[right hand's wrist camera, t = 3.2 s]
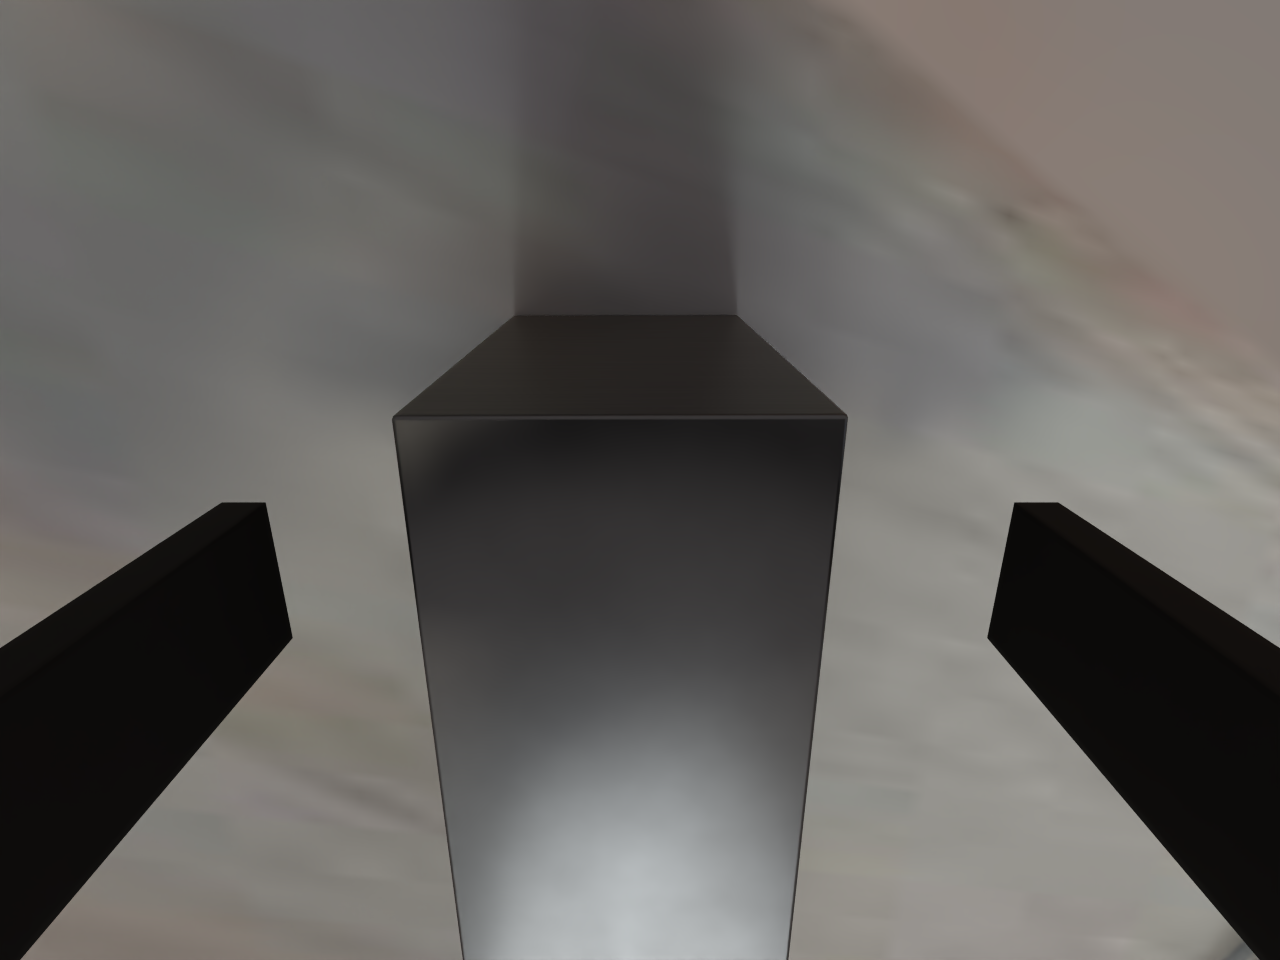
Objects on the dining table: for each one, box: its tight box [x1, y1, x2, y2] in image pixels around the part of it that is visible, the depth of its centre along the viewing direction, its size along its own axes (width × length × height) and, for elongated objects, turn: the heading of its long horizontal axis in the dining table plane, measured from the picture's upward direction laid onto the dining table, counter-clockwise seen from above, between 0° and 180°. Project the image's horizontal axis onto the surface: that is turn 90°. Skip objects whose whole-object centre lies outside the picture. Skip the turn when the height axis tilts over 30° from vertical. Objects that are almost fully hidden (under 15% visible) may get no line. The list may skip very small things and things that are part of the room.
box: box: [392, 315, 848, 960], centre depth 18 cm, size 23×6×10 cm, turn 0°
